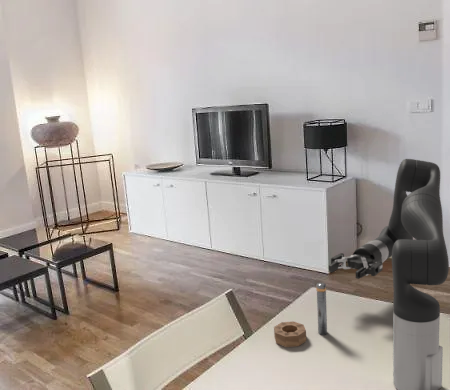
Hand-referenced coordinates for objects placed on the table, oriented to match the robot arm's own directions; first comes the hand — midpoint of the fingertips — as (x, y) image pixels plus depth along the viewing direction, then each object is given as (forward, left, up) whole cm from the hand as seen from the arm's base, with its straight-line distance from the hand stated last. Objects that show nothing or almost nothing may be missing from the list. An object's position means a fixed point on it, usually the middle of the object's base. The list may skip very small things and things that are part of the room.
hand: (343, 272), depth 139 cm
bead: (+5, +19, -14) cm, 24 cm away
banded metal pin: (0, +11, -14) cm, 18 cm away
